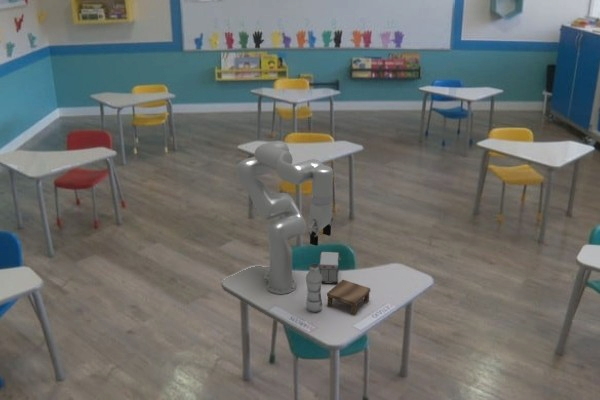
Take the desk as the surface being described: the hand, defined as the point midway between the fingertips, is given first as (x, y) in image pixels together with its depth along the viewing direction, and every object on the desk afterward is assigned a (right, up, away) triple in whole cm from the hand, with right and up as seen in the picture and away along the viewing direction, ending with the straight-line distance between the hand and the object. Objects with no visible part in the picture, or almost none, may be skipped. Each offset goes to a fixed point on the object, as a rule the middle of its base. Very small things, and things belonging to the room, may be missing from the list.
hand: (320, 239), depth 218 cm
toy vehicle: (+5, -19, +38) cm, 43 cm away
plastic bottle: (-2, -29, +13) cm, 32 cm away
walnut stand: (+12, -27, +17) cm, 34 cm away
